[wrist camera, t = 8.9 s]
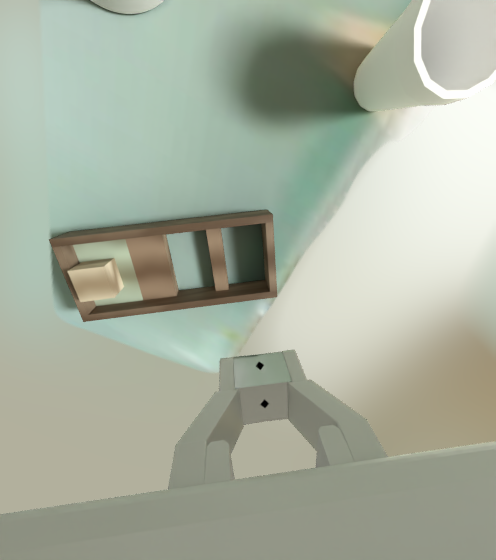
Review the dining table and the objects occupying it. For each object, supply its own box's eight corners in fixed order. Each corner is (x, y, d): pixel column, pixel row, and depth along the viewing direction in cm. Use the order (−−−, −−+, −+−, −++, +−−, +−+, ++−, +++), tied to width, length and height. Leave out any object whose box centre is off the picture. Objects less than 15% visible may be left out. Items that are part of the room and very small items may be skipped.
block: (81, 261, 35) (67, 271, 32) (114, 257, 35) (103, 266, 32) (92, 290, 37) (80, 302, 34) (123, 286, 37) (114, 297, 34)
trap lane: (69, 231, 35) (48, 239, 31) (267, 209, 36) (272, 214, 32) (97, 306, 40) (83, 321, 36) (271, 284, 41) (277, 297, 37)
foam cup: (327, 103, 32) (389, 62, 20) (367, 15, 29) (469, -94, 17) (386, 138, 34) (473, 119, 22) (429, 60, 31) (557, -10, 19)
